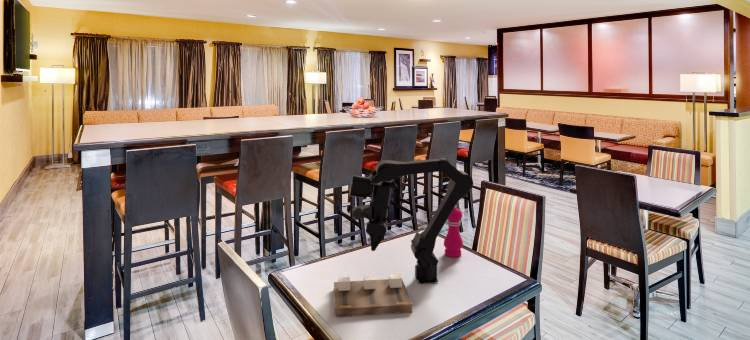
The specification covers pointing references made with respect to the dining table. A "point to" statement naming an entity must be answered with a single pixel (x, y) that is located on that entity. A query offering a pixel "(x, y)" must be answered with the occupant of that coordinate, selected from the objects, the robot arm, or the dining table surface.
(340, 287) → the tab
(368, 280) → the tab
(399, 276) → the tab
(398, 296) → the switch board
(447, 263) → the dining table surface
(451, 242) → the pepper mill
